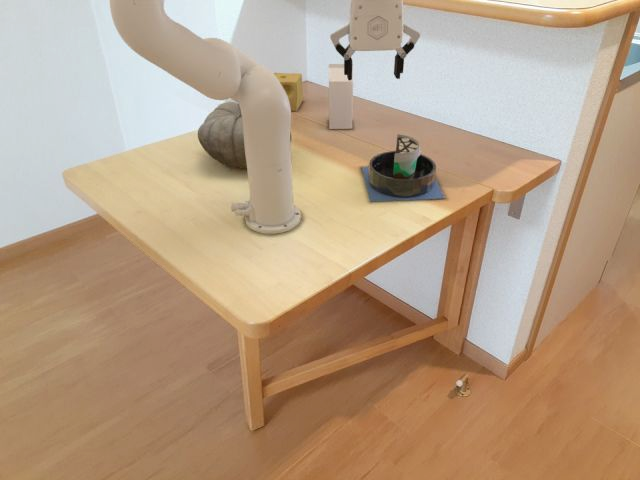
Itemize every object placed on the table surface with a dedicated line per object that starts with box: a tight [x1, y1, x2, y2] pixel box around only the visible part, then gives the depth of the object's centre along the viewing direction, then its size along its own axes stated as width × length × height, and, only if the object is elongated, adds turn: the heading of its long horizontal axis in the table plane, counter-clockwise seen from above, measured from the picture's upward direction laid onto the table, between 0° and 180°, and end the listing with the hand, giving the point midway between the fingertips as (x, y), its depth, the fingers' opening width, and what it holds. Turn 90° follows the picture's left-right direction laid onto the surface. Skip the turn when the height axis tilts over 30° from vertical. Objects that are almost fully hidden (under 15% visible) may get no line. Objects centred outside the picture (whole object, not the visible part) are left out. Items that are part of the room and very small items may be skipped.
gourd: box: [197, 101, 292, 169], centre depth 138 cm, size 25×25×17 cm
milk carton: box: [328, 63, 354, 130], centre depth 156 cm, size 7×7×19 cm
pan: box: [368, 150, 437, 198], centre depth 129 cm, size 16×16×5 cm
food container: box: [393, 133, 422, 179], centre depth 127 cm, size 12×6×10 cm, turn 170°
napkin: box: [360, 166, 446, 203], centre depth 130 cm, size 18×18×1 cm
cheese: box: [273, 72, 304, 112], centre depth 174 cm, size 10×11×10 cm
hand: (373, 77), depth 104 cm, fingers open, 9 cm apart
